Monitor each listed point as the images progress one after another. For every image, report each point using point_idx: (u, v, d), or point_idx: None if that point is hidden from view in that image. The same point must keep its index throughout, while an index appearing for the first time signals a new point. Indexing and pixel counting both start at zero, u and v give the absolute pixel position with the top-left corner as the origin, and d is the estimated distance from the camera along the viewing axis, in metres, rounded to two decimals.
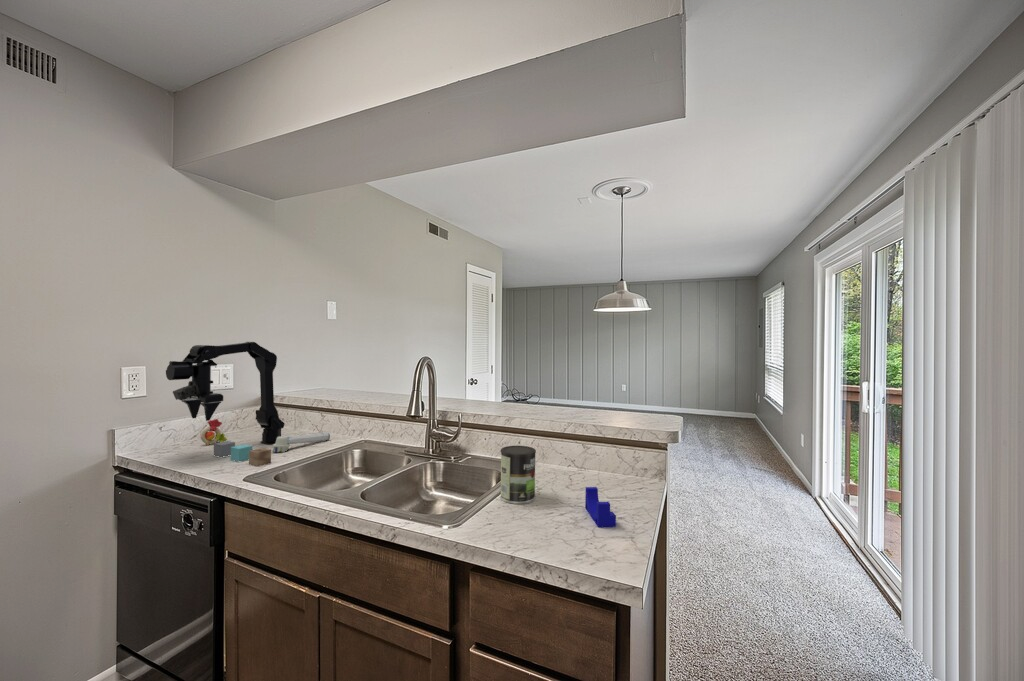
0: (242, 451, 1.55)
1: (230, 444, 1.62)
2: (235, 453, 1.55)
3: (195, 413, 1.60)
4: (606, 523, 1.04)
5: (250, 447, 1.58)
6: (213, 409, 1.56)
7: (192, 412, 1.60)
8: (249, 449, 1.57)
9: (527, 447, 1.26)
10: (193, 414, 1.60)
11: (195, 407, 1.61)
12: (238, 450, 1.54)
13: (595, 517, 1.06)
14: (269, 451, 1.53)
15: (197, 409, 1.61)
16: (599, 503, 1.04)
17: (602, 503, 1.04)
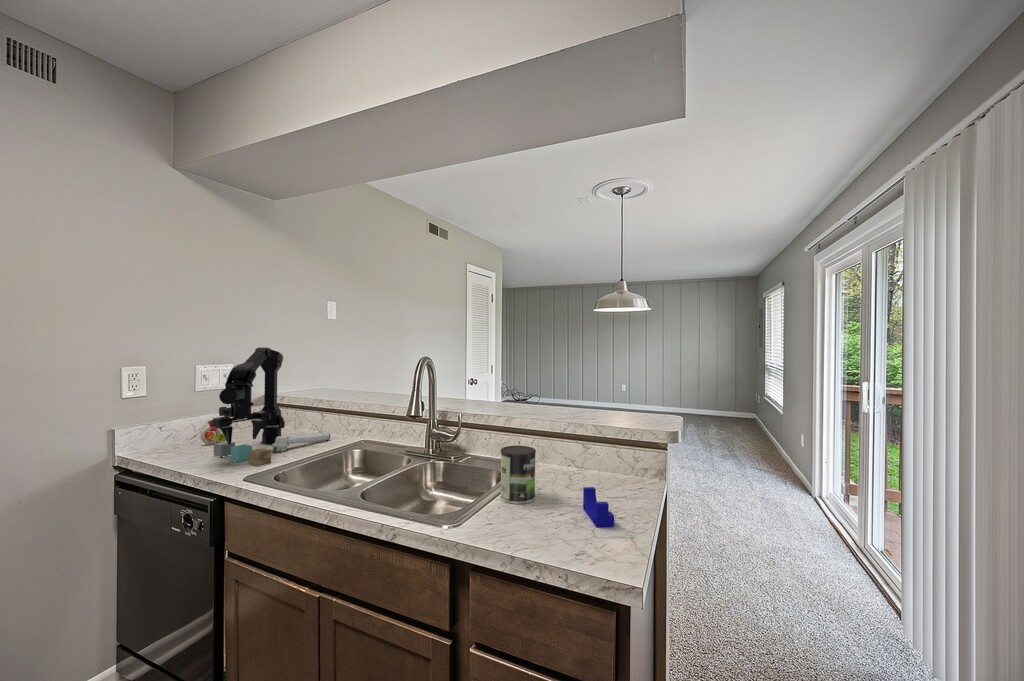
0: (242, 451, 1.55)
1: (230, 444, 1.62)
2: (235, 453, 1.55)
3: (254, 434, 1.61)
4: (604, 523, 1.04)
5: (250, 447, 1.58)
6: (227, 434, 1.51)
7: (253, 432, 1.62)
8: (249, 449, 1.57)
9: (527, 447, 1.26)
10: (253, 435, 1.61)
11: (255, 428, 1.61)
12: (238, 450, 1.54)
13: (593, 517, 1.06)
14: (269, 451, 1.53)
15: (256, 431, 1.61)
16: (597, 503, 1.04)
17: (600, 503, 1.04)
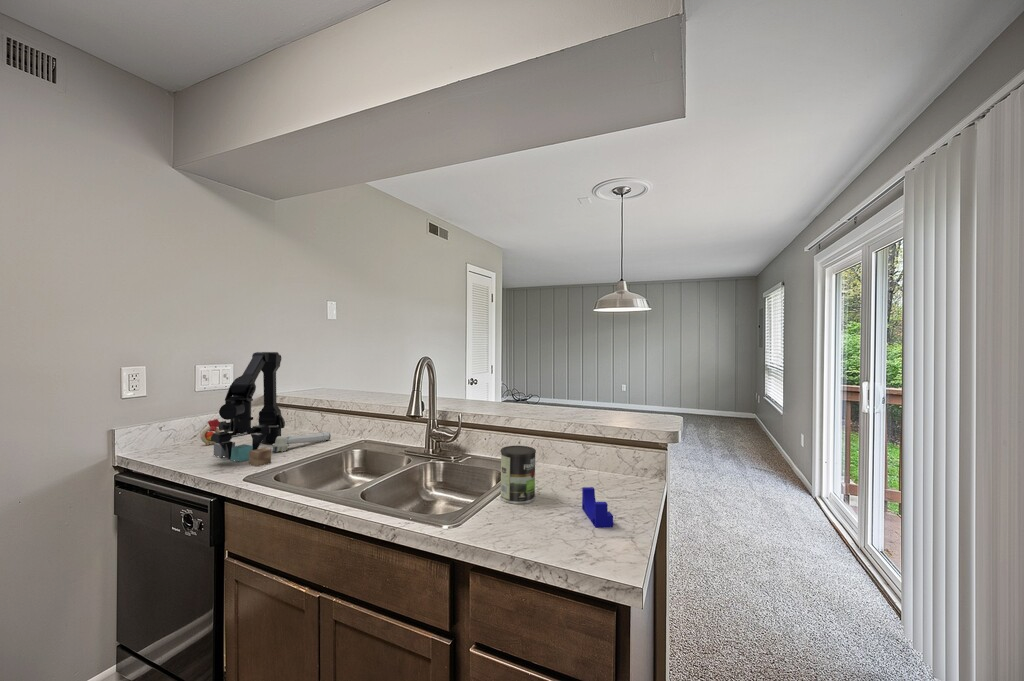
0: (242, 451, 1.55)
1: None
2: (235, 453, 1.55)
3: (254, 449, 1.61)
4: (603, 523, 1.04)
5: (250, 447, 1.58)
6: (227, 449, 1.51)
7: None
8: (249, 449, 1.57)
9: (527, 447, 1.26)
10: (253, 449, 1.61)
11: (255, 442, 1.61)
12: (238, 450, 1.54)
13: (592, 517, 1.06)
14: (269, 451, 1.53)
15: (255, 445, 1.61)
16: (596, 503, 1.04)
17: (599, 503, 1.04)
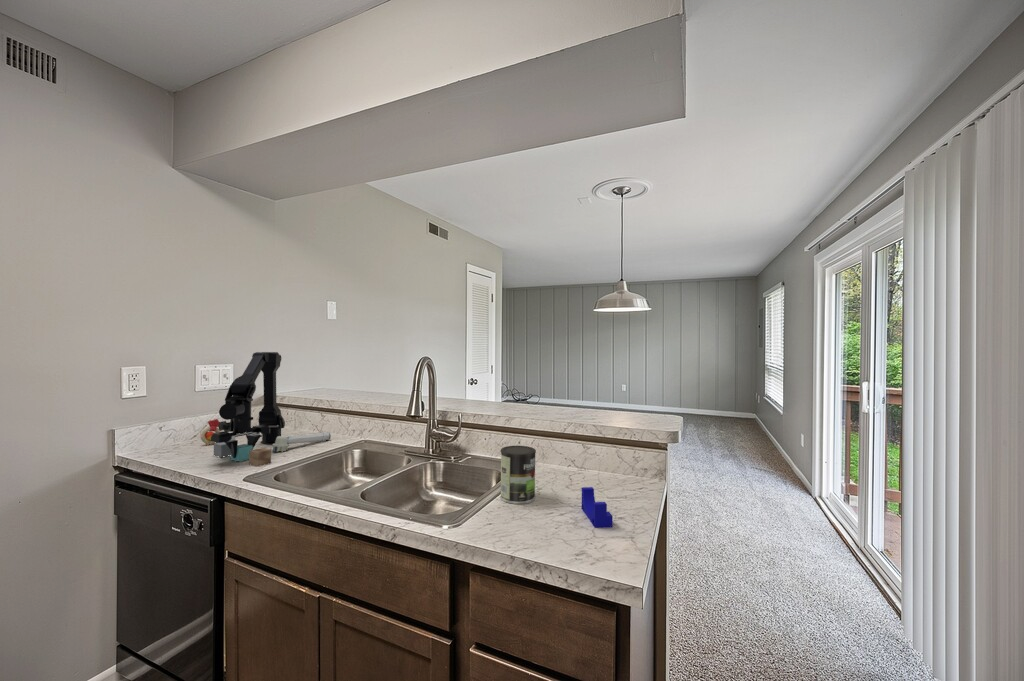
0: (242, 451, 1.55)
1: None
2: None
3: None
4: (603, 523, 1.03)
5: (250, 447, 1.58)
6: (232, 448, 1.53)
7: None
8: (249, 449, 1.57)
9: (527, 447, 1.26)
10: None
11: (250, 443, 1.60)
12: (238, 450, 1.54)
13: (591, 517, 1.06)
14: (269, 451, 1.53)
15: None
16: (596, 503, 1.04)
17: (599, 503, 1.04)
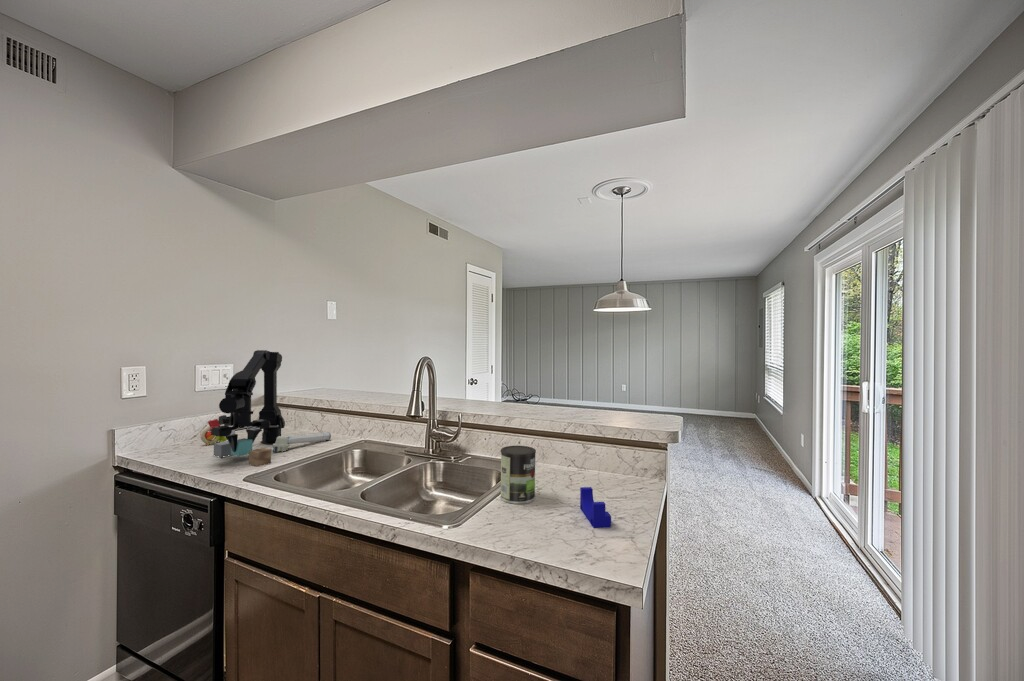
0: (242, 445, 1.55)
1: None
2: None
3: None
4: (601, 523, 1.03)
5: (250, 441, 1.57)
6: (232, 442, 1.53)
7: None
8: (249, 443, 1.57)
9: (527, 447, 1.26)
10: None
11: (250, 438, 1.60)
12: (238, 444, 1.54)
13: (590, 517, 1.06)
14: (269, 451, 1.53)
15: None
16: (594, 503, 1.04)
17: (597, 503, 1.04)
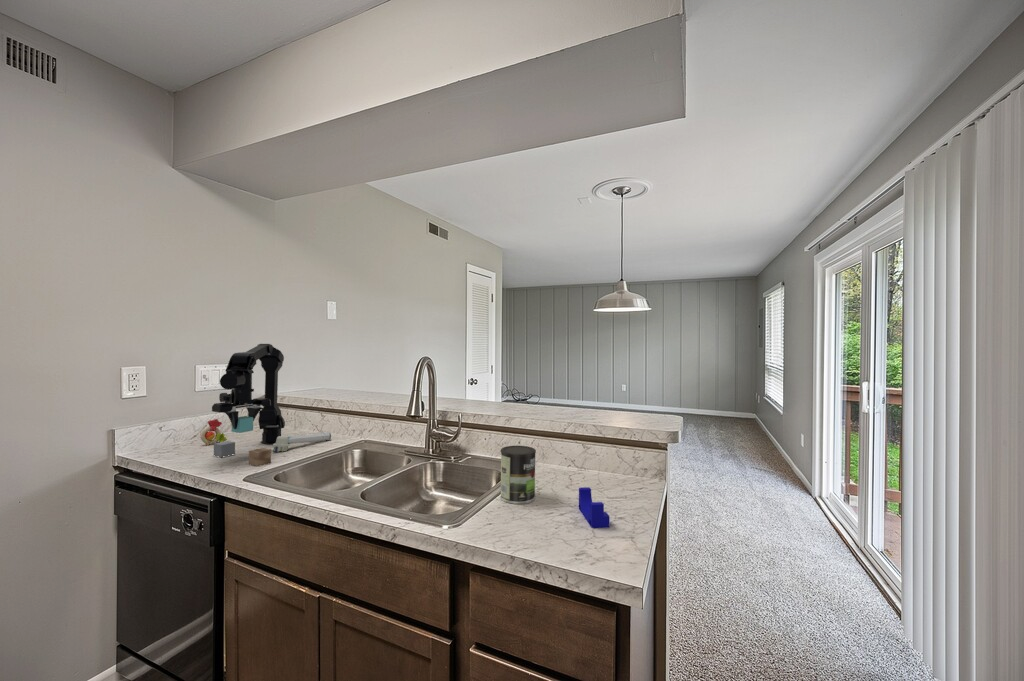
0: (243, 422, 1.55)
1: (230, 444, 1.62)
2: None
3: None
4: (600, 524, 1.03)
5: (251, 418, 1.58)
6: (233, 418, 1.53)
7: None
8: (250, 420, 1.58)
9: (527, 447, 1.26)
10: None
11: (251, 415, 1.60)
12: (239, 421, 1.54)
13: (588, 517, 1.06)
14: (269, 451, 1.53)
15: None
16: (593, 504, 1.04)
17: (596, 504, 1.04)
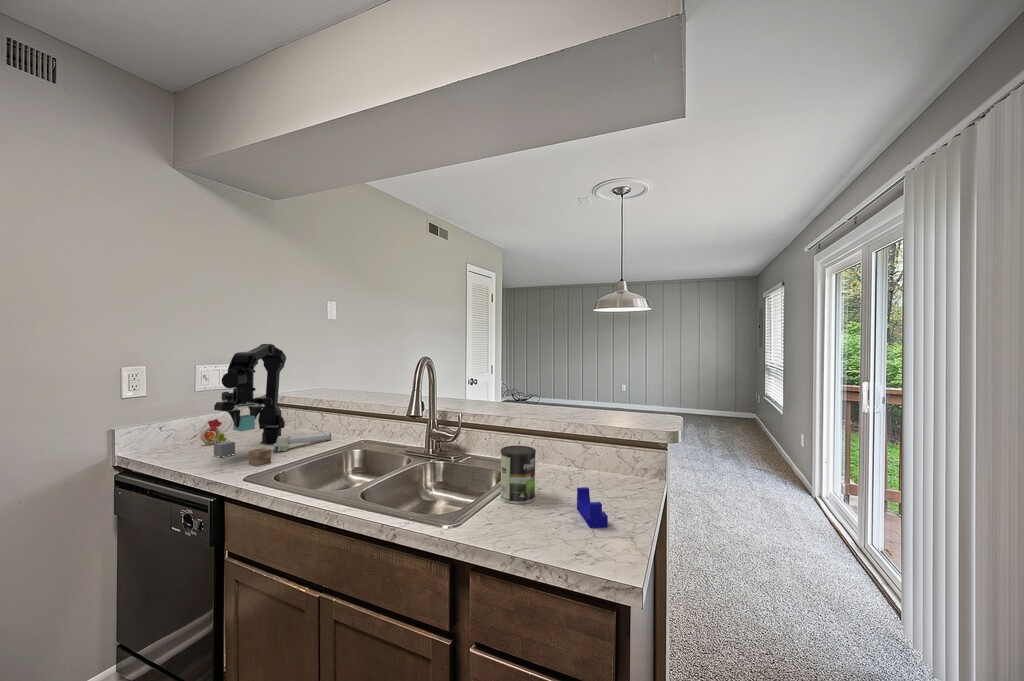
0: (245, 421, 1.58)
1: (230, 444, 1.62)
2: None
3: None
4: (598, 524, 1.03)
5: (252, 417, 1.60)
6: (235, 417, 1.56)
7: None
8: (251, 419, 1.60)
9: (527, 447, 1.26)
10: None
11: (252, 414, 1.62)
12: (241, 419, 1.57)
13: (587, 517, 1.05)
14: (269, 451, 1.53)
15: None
16: (591, 503, 1.04)
17: (594, 503, 1.04)
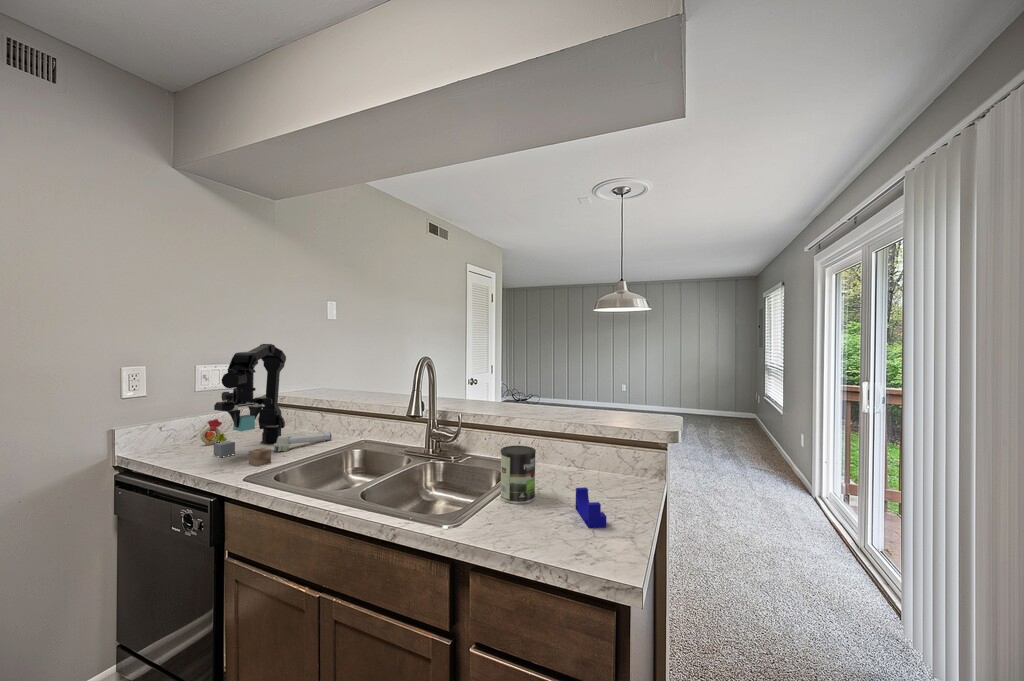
0: (245, 421, 1.58)
1: (230, 444, 1.62)
2: None
3: None
4: (596, 524, 1.03)
5: (252, 417, 1.60)
6: (235, 417, 1.56)
7: None
8: (251, 419, 1.60)
9: (527, 447, 1.26)
10: None
11: (252, 414, 1.62)
12: (241, 419, 1.57)
13: (585, 517, 1.05)
14: (269, 451, 1.53)
15: None
16: (589, 504, 1.03)
17: (592, 504, 1.04)
